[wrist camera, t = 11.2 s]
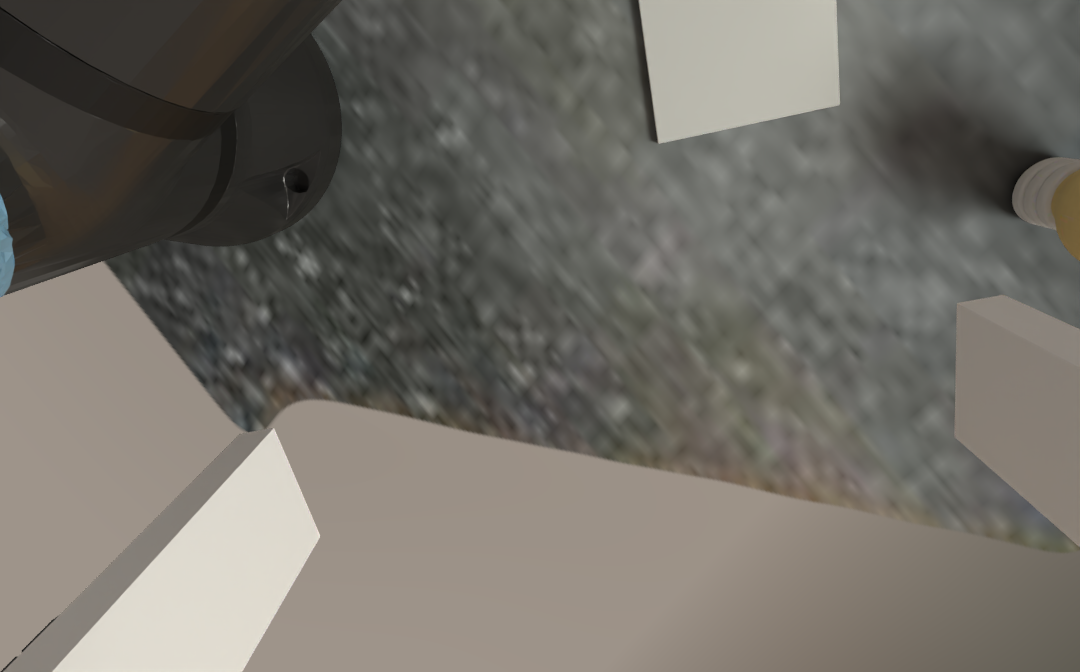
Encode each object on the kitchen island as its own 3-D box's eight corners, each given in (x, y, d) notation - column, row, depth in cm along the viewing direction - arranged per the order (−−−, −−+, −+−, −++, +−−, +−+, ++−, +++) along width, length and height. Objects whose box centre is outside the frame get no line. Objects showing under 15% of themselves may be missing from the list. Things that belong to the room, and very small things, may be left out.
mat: (657, 143, 35) (658, 143, 35) (630, -54, 32) (631, -56, 31) (836, 104, 34) (839, 104, 34) (829, -104, 30) (832, -107, 30)
